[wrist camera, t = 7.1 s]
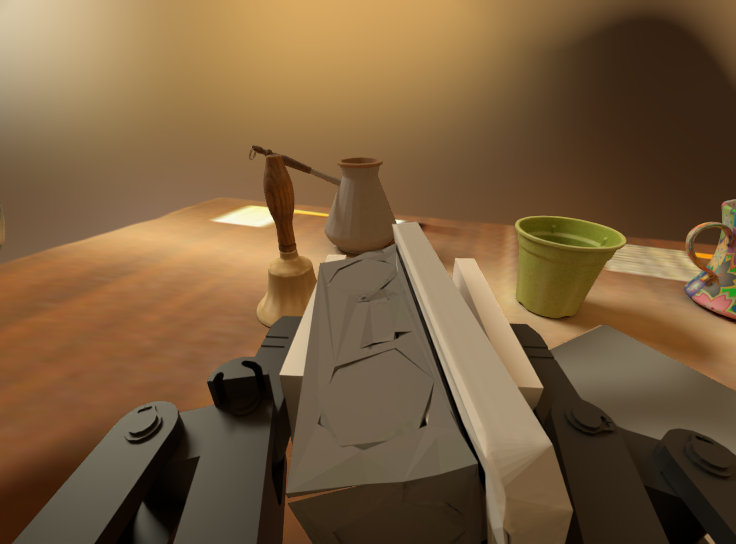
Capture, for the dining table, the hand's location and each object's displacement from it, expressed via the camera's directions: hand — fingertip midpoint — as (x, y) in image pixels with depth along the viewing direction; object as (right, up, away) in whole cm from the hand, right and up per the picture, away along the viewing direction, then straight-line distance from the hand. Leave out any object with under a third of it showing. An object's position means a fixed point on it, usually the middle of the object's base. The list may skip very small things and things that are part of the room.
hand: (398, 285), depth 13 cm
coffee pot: (-7, +5, +37) cm, 38 cm away
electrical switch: (0, -8, -2) cm, 8 cm away
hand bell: (-9, -4, +21) cm, 24 cm away
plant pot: (+18, -3, +22) cm, 29 cm away
